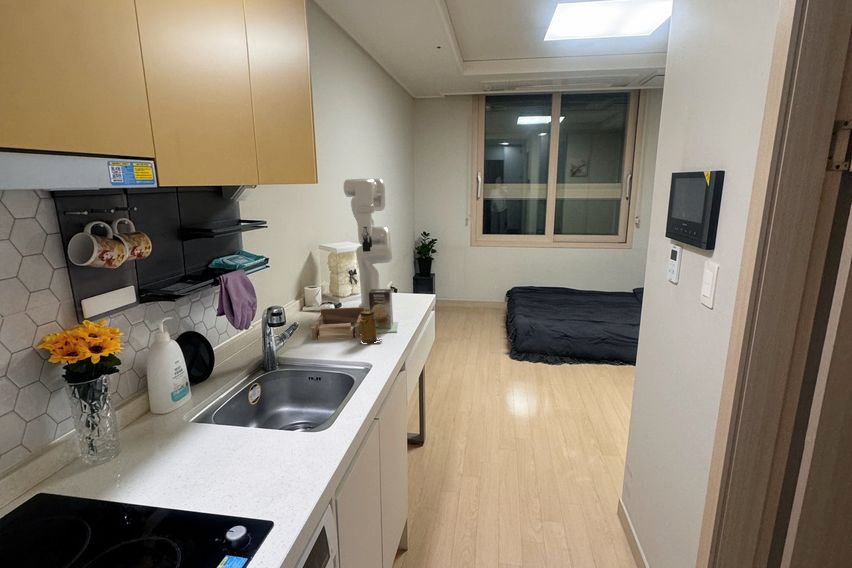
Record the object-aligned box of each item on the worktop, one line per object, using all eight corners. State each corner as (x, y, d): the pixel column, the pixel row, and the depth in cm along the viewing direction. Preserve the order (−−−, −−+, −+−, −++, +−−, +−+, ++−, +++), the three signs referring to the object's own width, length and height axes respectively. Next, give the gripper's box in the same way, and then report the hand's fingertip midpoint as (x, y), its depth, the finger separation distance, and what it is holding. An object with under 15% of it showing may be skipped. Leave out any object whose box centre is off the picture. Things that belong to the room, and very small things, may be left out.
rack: (322, 323, 198) (321, 308, 196) (365, 321, 198) (363, 307, 197) (311, 340, 177) (310, 323, 175) (359, 338, 177) (358, 321, 176)
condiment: (362, 338, 177) (359, 309, 174) (383, 337, 177) (381, 309, 174) (359, 344, 170) (357, 315, 167) (381, 344, 170) (379, 314, 167)
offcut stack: (320, 336, 182) (319, 324, 180) (354, 334, 182) (353, 322, 181) (318, 340, 177) (317, 328, 176) (353, 338, 178) (352, 326, 177)
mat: (368, 324, 195) (368, 323, 195) (398, 322, 195) (397, 321, 195) (365, 333, 182) (365, 332, 182) (396, 332, 182) (396, 331, 182)
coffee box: (370, 329, 186) (367, 292, 183) (373, 324, 192) (370, 288, 189) (391, 329, 185) (389, 292, 182) (393, 324, 192) (391, 288, 188)
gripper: (358, 208, 195) (360, 246, 200) (353, 212, 178) (356, 253, 183) (375, 207, 195) (377, 245, 200) (372, 211, 179) (375, 252, 183)
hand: (367, 249), depth 191 cm, fingers open, 9 cm apart
